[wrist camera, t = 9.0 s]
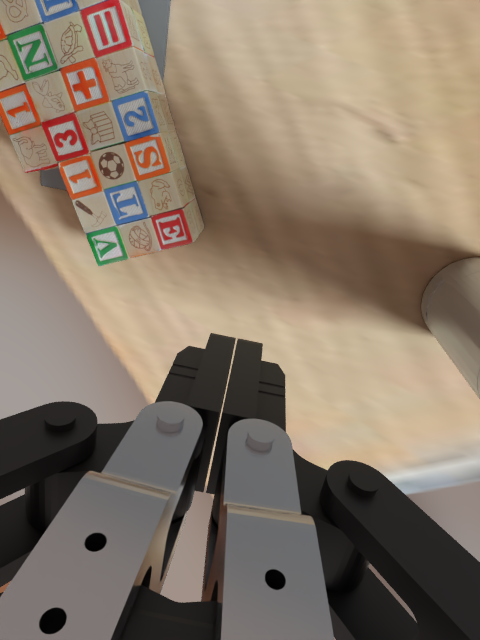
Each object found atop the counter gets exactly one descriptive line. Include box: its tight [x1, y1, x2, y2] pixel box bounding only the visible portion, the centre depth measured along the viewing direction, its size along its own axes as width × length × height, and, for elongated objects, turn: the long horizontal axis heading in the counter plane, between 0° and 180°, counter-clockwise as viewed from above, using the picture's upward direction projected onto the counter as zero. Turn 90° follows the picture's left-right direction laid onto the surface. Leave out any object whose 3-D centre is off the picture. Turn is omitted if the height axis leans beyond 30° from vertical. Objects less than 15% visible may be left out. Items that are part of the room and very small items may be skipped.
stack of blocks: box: [0, 0, 204, 266], centre depth 37 cm, size 21×6×12 cm
